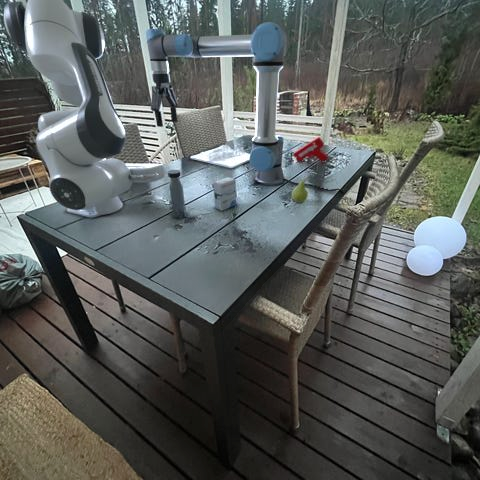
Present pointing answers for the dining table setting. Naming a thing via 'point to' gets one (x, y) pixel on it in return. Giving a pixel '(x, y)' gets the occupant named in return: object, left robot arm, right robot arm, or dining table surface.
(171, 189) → the bottle
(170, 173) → the cap
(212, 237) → the dining table surface
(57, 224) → the dining table surface
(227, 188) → the ink box
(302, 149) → the toy gun
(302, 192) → the fruit
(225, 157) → the relief map
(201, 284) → the dining table surface
